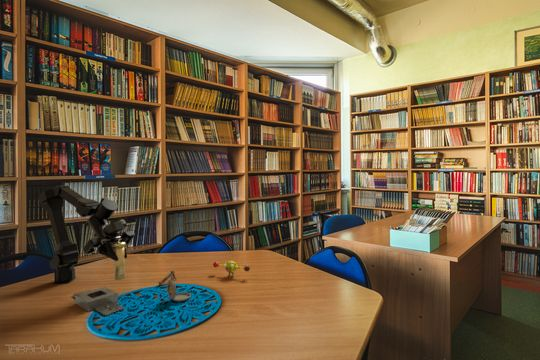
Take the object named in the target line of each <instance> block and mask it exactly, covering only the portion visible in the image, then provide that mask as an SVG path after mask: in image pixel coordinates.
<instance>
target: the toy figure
mask: <svg viewBox="0 0 540 360" xmlns="http://www.w3.org/2000/svg"><path fill="white" fill-rule="evenodd" d="M212 266H213V267H214V268H218V267H219V266H220V268H224V269H225V271H226V272H227V273H228V275H227V276H228V277H231V278H232V277H235V275H234V273H235V272H236V271H237V270H242V269H243V270H244V272H249V271H250V270H251V269H250V268H251V267H250V266H249V265H244V267H242V266H238V264H237V262H235V261H234V260H229V261H226V263H224V264H220V263H219V262H218V261H214V262H213V264H212Z"/></svg>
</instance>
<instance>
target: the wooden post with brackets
mask: <svg viewBox="0 0 540 360" xmlns="http://www.w3.org/2000/svg"><path fill="white" fill-rule="evenodd" d="M175 272H176V270H170V272H169V274H167V275H165V277H164V278H163V279H162V280H160V281H157V283H158V285H159V286H163V285H164V283H165V282H166V281H168V280H171V277H170V275H171V274H172V276H173V280H176V281H177V276H176V274H175ZM170 273H171V274H170Z"/></svg>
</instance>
